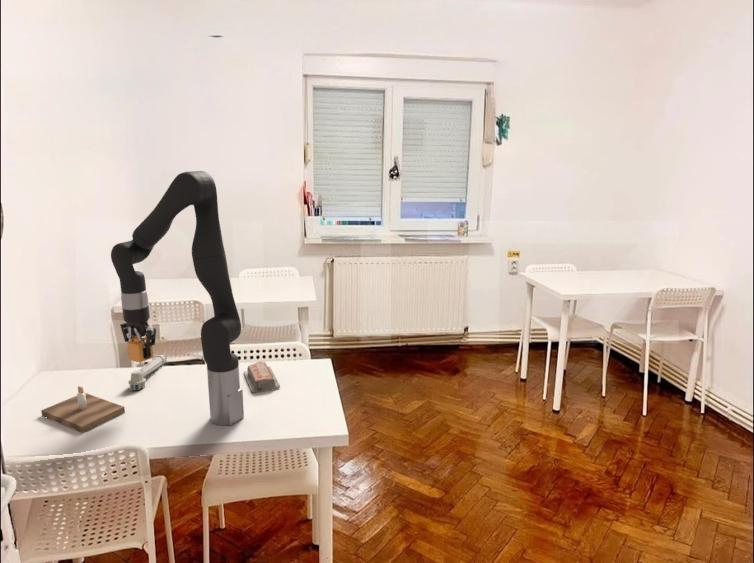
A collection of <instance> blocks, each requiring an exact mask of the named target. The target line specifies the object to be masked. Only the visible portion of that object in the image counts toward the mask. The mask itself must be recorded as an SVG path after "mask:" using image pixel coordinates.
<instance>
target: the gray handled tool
mask: <svg viewBox="0 0 754 563" xmlns="http://www.w3.org/2000/svg"><path fill="white" fill-rule="evenodd" d="M166 362H167V356H166V355H165V354H163V353H162V354H158V355H155V356H153V358H151V359H150V361H148V362H147V363H146V364H145V365H143V366H142V367H141V368H139V370H135V371H134V370H133V371H131V373H130V379H129V380H128V385H129V390H130V391H140V389H145V388H146V382H147V378H145V377H146V376H148V375H149V374H151V373H152V372H153V371H155V370H157V369H158V368H160V367H163V365H165V363H166Z"/></svg>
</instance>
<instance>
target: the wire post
mask: <svg viewBox="0 0 754 563" xmlns="http://www.w3.org/2000/svg"><path fill="white" fill-rule="evenodd" d="M77 392H78V393H77V394H76V396H77V398H78V405H79V410H85V409H87V403H86V396H85V393H86V392H84V387H83V386H80V385H78V386H77Z"/></svg>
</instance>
